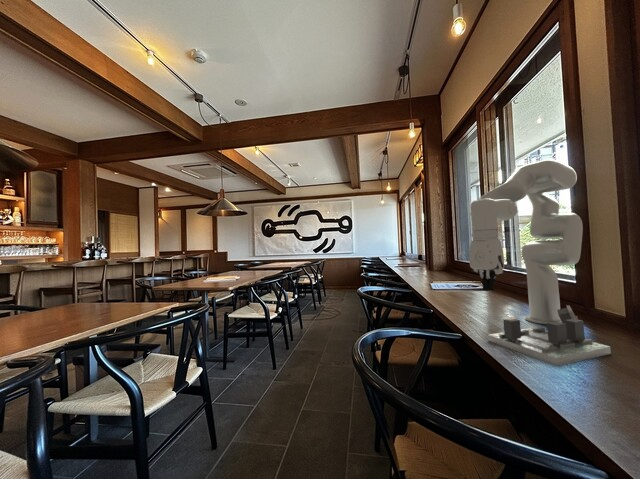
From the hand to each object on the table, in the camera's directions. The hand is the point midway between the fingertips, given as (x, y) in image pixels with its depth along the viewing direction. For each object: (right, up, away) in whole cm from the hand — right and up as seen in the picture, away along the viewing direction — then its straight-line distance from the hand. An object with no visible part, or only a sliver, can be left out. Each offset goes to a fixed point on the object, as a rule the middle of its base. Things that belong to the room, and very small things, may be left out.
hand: (488, 290), depth 93 cm
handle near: (+19, -12, -12) cm, 25 cm away
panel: (+11, -15, -10) cm, 21 cm away
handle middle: (+12, -13, -13) cm, 22 cm away
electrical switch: (+27, -15, -1) cm, 31 cm away
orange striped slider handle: (+3, -13, -8) cm, 16 cm away
